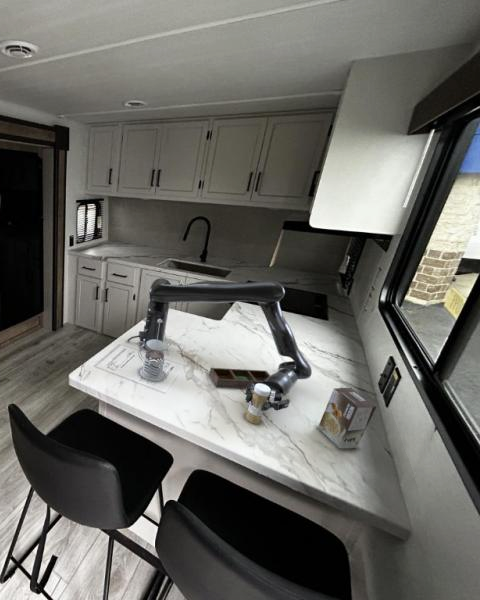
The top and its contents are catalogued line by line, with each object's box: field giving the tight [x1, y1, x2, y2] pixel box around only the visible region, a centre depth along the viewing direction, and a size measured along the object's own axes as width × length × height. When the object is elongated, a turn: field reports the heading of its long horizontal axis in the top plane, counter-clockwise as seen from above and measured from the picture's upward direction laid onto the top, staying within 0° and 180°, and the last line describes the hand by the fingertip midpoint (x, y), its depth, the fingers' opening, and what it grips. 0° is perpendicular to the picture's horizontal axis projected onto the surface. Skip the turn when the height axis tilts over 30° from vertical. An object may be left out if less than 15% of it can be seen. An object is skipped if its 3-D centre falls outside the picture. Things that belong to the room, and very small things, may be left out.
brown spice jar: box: [245, 384, 271, 424], centre depth 105 cm, size 5×5×14 cm
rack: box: [208, 367, 271, 390], centre depth 126 cm, size 8×23×4 cm, turn 88°
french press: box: [137, 319, 168, 382], centre depth 126 cm, size 10×12×25 cm
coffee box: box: [317, 387, 377, 449], centre depth 99 cm, size 9×6×16 cm
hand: (255, 404), depth 103 cm, fingers closed on brown spice jar, 4 cm apart
